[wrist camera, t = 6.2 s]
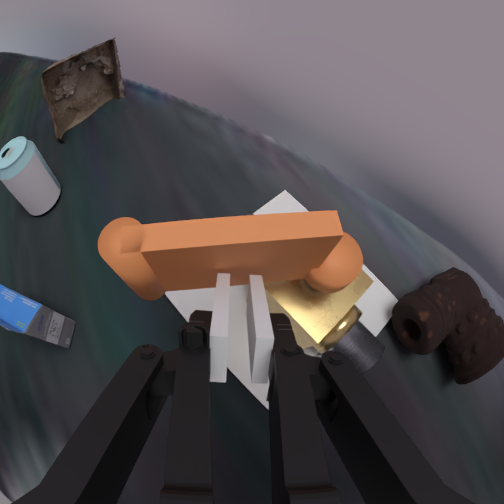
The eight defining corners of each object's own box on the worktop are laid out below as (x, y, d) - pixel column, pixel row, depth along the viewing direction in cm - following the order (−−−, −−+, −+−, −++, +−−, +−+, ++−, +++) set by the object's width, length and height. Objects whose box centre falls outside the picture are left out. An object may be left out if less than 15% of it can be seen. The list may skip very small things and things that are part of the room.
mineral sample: (62, 145, 43) (32, 83, 29) (54, 138, 44) (26, 79, 30) (130, 96, 49) (116, 33, 35) (120, 91, 50) (105, 31, 36)
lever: (345, 238, 24) (381, 190, 17) (358, 289, 22) (403, 252, 16) (134, 256, 22) (102, 208, 15) (133, 312, 20) (95, 280, 13)
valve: (373, 339, 32) (429, 318, 22) (330, 388, 30) (378, 390, 19) (261, 226, 37) (273, 166, 27) (211, 264, 35) (205, 212, 24)
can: (28, 224, 36) (-12, 180, 25) (29, 191, 38) (-5, 147, 27) (63, 207, 38) (27, 156, 27) (61, 175, 40) (32, 125, 29)
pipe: (413, 285, 27) (478, 397, 20) (471, 240, 32) (523, 326, 25) (374, 318, 35) (426, 409, 29) (435, 275, 40) (480, 349, 33)
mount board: (397, 305, 35) (401, 303, 34) (287, 427, 28) (288, 429, 27) (283, 194, 41) (285, 190, 40) (160, 288, 34) (158, 285, 33)
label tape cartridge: (78, 321, 31) (21, 291, 20) (70, 350, 30) (9, 331, 18) (31, 300, 31) (-25, 267, 20) (23, 326, 30) (-36, 300, 18)
